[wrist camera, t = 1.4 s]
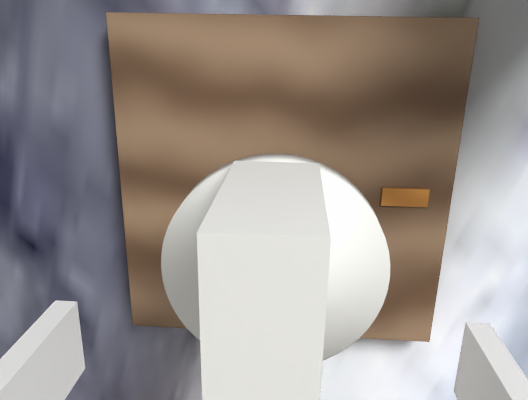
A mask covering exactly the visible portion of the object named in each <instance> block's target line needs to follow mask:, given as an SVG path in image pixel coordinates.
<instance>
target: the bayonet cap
mask: <svg viewBox="0 0 528 400" xmlns="http://www.w3.org/2000/svg"><path fill="white" fill-rule="evenodd" d="M161 271H162V279H163V284H164V287H165V291H166V294H167V296H168V299H169V301H170V303H171V306H172V308H173V309H174V311H175V313H176V314H177V316H178V318H179V319H180V320H181V321H182V323H183V324H184V325H185V327H186V328H187V329H188V330H189V331H190V332H191V333H192V334H193V335H194V336H195V337H196V338H197V339H199V340H200V350H201V381H202V400H320V392H321V378H322V363H323V360H326V359H328V358H330V357H332V356H334V355H336V354H338V353H340V352H341V351H343V350H344V349H346V348H348V347H349V346H350V345H352V344H353V343H354V342H355V341H356V340H358V339H359V338H360V337H361V336H362V335H363V334H364V333H365V332H366V331H367V329H368V328H369V327H370V326H371V324H372V323H373V321H374V320H375V319H376V317H377V315H378V313H379V312H380V310H381V308H382V306H383V303H384V300H385V297H386V295H387V291H388V286H389V281H390V257H389V250H388V246H387V242H386V238H385V236H384V233H383V231H382V228H381V226H380V224H379V221H378V219H377V217H376V215H375V212H374V210H373V209H372V207H371V205H370V204H369V202H368V200H367V199H366V198H365V197H364V195H363V194H362V193H361V192H360V190H359V189H358V188H357V187H356V186H355V185H354V184H352V183H351V182H350V181H349V180H348V179H347V178H346V177H344V176H343V175H341V174H340V173H338V172H337V171H336V170H334V169H332V168H330V167H328V166H326V165H324V164H322V163H320V162H317V161H314V160H312V159H309V158H305V157H300V156H296V155H290V154H279V153H275V154H259V155H253V156H248V157H244V158H241V159H238V160H234V161H232V162H230V163H228V164H225V165H223V166H221V167H219V168H218V169H216V170H215V171H213V172H211V173H210V174H208V175H207V176H206V177H205V178H204V179H202V180H201V181H200V182H199V183H198V184H197V185H196V186H195V187H194V188H193V189H192V190H191V191H190V193H189V194H188V195H187V197H186V198H185V200H184V201H183V202H182V204H181V205H180V207H179V208H178V210H177V211H176V213H175V214H174V216H173V218H172V220H171V222H170V224H169V226H168V228H167V231H166V234H165V237H164V241H163V246H162V253H161Z"/></svg>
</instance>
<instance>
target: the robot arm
mask: <svg viewBox="0 0 528 400" xmlns="http://www.w3.org/2000/svg"><path fill="white" fill-rule="evenodd" d="M84 369H85V363H84V355H83V346H82V338H81V330H80V322H79V314H78V306H77V302H74V301H55V302H54V303H53V304H52V305H51V306H50V307H49V308H48V309H47V310H46V311H45V312H44V313H43V314H42V315H41V316H40V317H39V319H38V320H37V321H36V322H35V323H34V324H33V325H32V326H31V327H30V328H29V329H28V330H27V331H26V332H25V333H24V334H23V336H22V337H21V338H20V339H19V340H18V341H17V342H16V343H15V344H14V345H13V346H12V347H11V348H10V349H9V350H8V351H7V353H6V354H5V355H4V356H3V357H2V358H1V359H0V400H65V398H66V397H67V395H68V394H69V392H70V391H71V389H72V388H73V386H74V385H75V383H76V382H77V380H78V379H79V377H80V376H81V374H82V372H83V371H84ZM454 393H455V395H456V397H457V400H528V379H527V378H526V376H525V375H524V373H523V372H522V370H521V369H520V367H519V366H518V364H517V363H516V361H515V360H514V358H513V357H512V356H511V354H510V353H509V351H508V350H507V348H506V347H505V345H504V344H503V342H502V341H501V339H500V338H499V336H498V335H497V333H496V332H495V330H494V329H493V328H492V326H491V325H490V323H471V322H466V324H465V330H464V336H463V341H462V347H461V353H460V358H459V364H458V370H457V375H456V381H455V387H454Z"/></svg>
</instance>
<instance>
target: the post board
mask: <svg viewBox="0 0 528 400" xmlns="http://www.w3.org/2000/svg"><path fill="white" fill-rule="evenodd" d="M106 17H107V29H108V41H109V53H110V64H111V76H112V88H113V99H114V111H115V123H116V134H117V146H118V158H119V170H120V181H121V193H122V205H123V216H124V228H125V240H126V251H127V263H128V275H129V287H130V298H131V310H132V322H133V325H139V326H157V327H175V328H186V327H185V325H184V324H183V323H182V321H181V320H180V319H179V318H178V316H177V314H176V313H175V311H174V309H173V308H172V306H171V303H170V301H169V299H168V296H167V294H166V291H165V287H164V284H163V279H162V271H161V253H162V246H163V241H164V237H165V234H166V231H167V228H168V226H169V224H170V222H171V220H172V218H173V216H174V214H175V213H176V211H177V210H178V208H179V207H180V205H181V204H182V202H183V201H184V200H185V198H186V197H187V195H188V194H189V193H190V191H191V190H192V189H193V188H194V187H195V186H196V185H197V184H198V183H199V182H200V181H201V180H202V179H204V178H205V177H206V176H207V175H208V174H210V173H211V172H213V171H215V170H216V169H218V168H219V167H221V166H223V165H225V164H228V163H230V162H232V161H234V160H238V159H241V158H244V157H248V156H253V155H259V154H275V153H279V154H290V155H296V156H300V157H305V158H309V159H312V160H314V161H317V162H320V163H322V164H324V165H326V166H328V167H330V168H332V169H334V170H336V171H337V172H338V173H340V174H341V175H343V176H344V177H346V178H347V179H348V180H349V181H350V182H351V183H352V184H354V185H355V186H356V187H357V188H358V189H359V190H360V192H361V193H362V194H363V195H364V197H365V198H366V199H367V200H368V202H369V204H370V205H371V207H372V209H373V210H374V212H375V215H376V217H377V219H378V221H379V224H380V226H381V228H382V231H383V233H384V236H385V238H386V242H387V246H388V250H389V257H390V281H389V286H388V291H387V295H386V297H385V300H384V303H383V306H382V308H381V310H380V312H379V313H378V315H377V317H376V319H375V320H374V321H373V323H372V324H371V326H370V327H369V328H368V329H367V331H366V332H365V333H364V334H363V335H362V336H361V337H360V338H371V339H389V340H407V341H425V342H429V340H430V334H431V327H432V321H433V314H434V308H435V301H436V295H437V288H438V282H439V275H440V269H441V262H442V256H443V249H444V243H445V236H446V230H447V223H448V217H449V210H450V204H451V197H452V191H453V184H454V178H455V171H456V165H457V158H458V152H459V145H460V139H461V132H462V126H463V119H464V112H465V106H466V99H467V93H468V86H469V80H470V73H471V67H472V60H473V54H474V47H475V41H476V34H477V28H478V21H479V18H450V17H381V16H313V15H245V14H177V13H109V12H106Z"/></svg>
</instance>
